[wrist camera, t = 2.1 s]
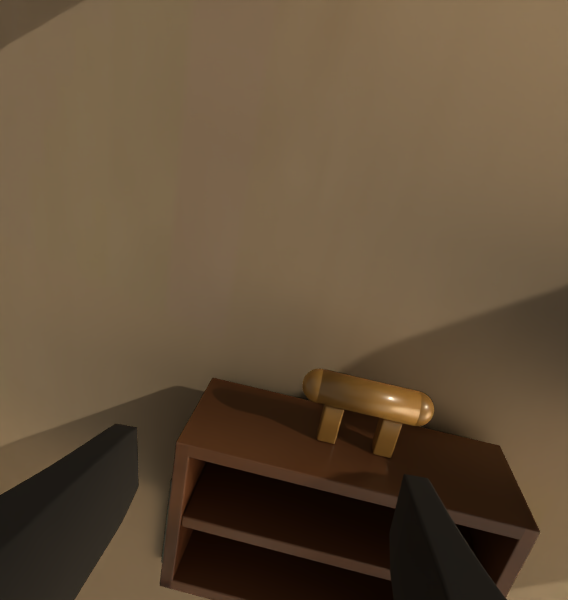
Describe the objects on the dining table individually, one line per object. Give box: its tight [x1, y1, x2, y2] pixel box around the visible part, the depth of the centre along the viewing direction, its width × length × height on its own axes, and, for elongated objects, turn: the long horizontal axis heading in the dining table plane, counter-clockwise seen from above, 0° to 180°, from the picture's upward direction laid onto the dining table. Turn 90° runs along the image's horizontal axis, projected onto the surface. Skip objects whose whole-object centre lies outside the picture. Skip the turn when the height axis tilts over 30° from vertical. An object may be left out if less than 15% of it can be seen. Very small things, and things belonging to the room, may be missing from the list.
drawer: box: [160, 369, 540, 600], centre depth 20 cm, size 5×14×11 cm
